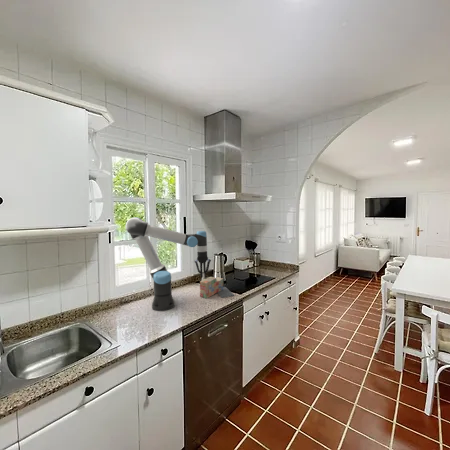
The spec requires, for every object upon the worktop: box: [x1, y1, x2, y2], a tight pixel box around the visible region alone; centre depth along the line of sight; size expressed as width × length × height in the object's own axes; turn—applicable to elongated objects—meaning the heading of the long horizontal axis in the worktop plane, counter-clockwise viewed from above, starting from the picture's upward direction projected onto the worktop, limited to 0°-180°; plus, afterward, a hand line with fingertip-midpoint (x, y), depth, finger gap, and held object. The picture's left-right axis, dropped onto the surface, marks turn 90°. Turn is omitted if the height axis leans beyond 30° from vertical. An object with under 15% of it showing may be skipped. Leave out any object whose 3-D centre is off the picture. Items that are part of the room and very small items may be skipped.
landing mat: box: [216, 286, 235, 298], centre depth 198 cm, size 10×22×1 cm, turn 18°
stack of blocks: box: [199, 276, 224, 299], centre depth 194 cm, size 21×6×12 cm, turn 143°
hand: (203, 281), depth 192 cm, fingers closed
